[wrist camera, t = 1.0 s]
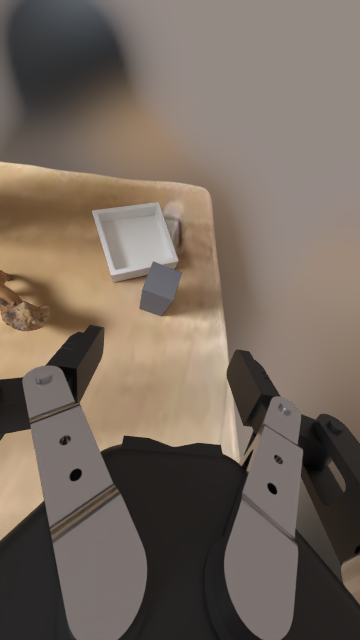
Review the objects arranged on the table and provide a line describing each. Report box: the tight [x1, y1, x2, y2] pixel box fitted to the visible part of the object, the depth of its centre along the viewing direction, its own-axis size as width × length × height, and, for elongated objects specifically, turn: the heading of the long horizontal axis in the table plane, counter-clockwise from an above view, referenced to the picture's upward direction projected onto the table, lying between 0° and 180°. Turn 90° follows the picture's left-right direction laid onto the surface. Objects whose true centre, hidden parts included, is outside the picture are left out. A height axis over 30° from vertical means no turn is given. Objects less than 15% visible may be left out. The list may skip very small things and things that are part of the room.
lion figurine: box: [0, 270, 50, 331], centre depth 30 cm, size 15×5×9 cm, turn 53°
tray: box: [92, 202, 178, 283], centre depth 39 cm, size 13×13×4 cm
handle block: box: [139, 261, 182, 316], centre depth 34 cm, size 4×4×12 cm
